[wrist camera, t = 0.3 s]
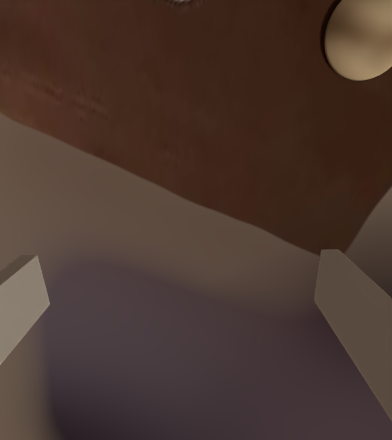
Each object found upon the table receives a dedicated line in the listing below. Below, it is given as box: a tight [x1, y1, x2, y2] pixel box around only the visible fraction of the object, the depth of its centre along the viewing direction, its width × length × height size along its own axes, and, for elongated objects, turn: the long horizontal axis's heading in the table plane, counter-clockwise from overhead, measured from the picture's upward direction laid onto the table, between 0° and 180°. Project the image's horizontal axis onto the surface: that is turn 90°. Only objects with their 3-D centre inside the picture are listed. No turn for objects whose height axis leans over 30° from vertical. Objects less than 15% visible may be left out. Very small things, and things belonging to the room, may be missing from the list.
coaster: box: [324, 0, 392, 81], centre depth 32 cm, size 10×10×1 cm
